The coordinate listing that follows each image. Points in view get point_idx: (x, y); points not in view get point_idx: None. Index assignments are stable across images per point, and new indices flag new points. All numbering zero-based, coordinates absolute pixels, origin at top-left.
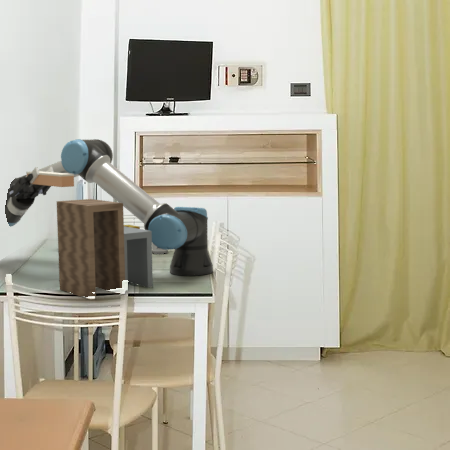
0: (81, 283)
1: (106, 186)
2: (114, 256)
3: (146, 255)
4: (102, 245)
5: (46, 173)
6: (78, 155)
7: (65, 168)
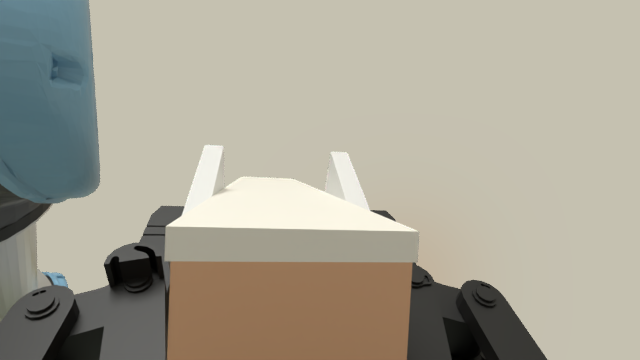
0: None
1: (32, 240)
2: None
3: None
4: None
5: (308, 185)
6: (93, 76)
7: (97, 158)
